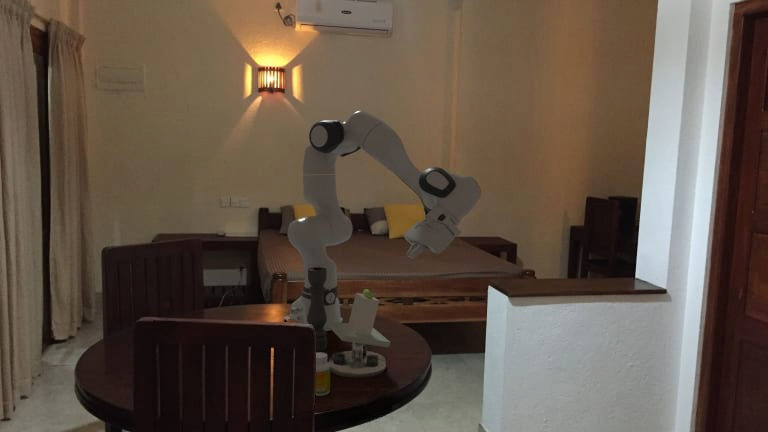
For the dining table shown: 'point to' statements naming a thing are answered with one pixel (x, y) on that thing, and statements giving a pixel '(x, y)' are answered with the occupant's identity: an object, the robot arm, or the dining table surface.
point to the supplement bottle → (322, 374)
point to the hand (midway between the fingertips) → (409, 256)
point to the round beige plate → (357, 362)
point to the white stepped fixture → (361, 322)
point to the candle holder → (317, 305)
